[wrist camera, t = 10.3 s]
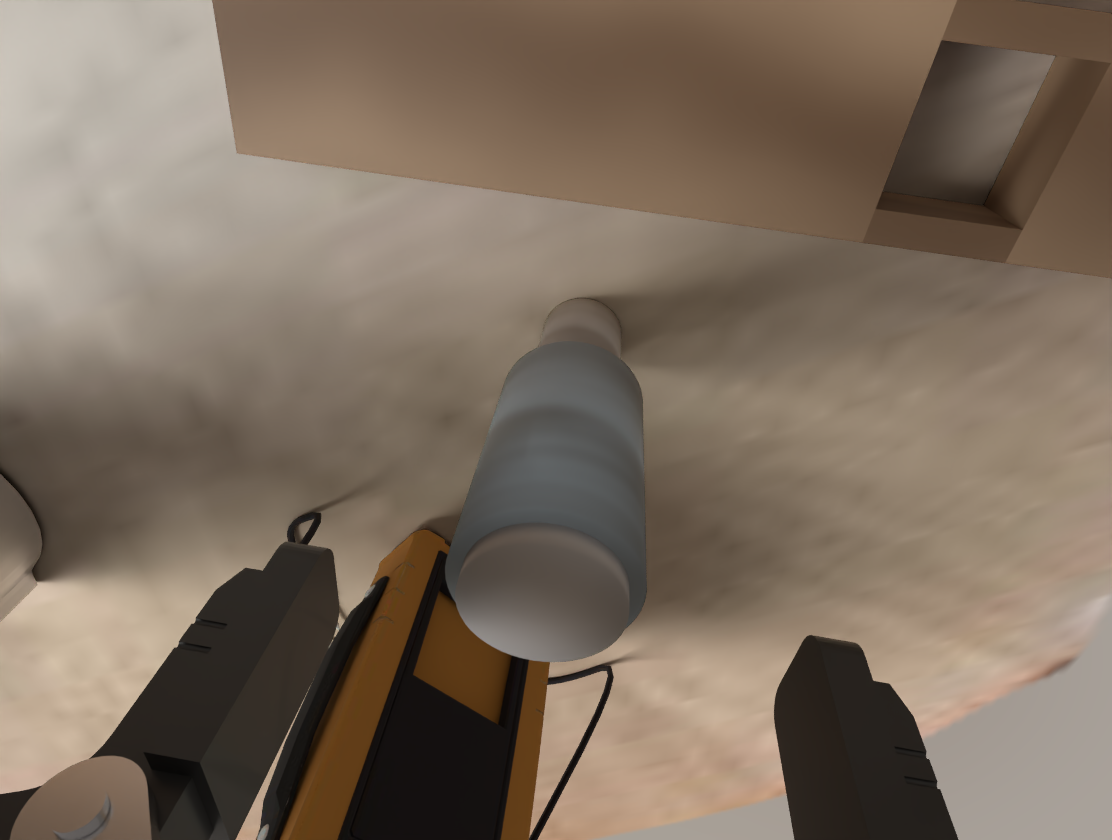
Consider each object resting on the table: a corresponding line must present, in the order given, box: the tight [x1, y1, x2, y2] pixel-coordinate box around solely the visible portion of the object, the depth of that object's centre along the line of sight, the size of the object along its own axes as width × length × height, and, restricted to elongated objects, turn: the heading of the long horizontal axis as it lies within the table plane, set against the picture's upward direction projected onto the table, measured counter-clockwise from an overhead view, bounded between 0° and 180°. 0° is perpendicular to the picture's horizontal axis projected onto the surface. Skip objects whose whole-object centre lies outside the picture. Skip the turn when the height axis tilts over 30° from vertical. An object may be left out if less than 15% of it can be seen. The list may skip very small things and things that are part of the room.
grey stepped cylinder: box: [445, 298, 647, 662], centre depth 15 cm, size 4×4×10 cm
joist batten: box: [212, 0, 1112, 278], centre depth 15 cm, size 5×22×2 cm, turn 84°
